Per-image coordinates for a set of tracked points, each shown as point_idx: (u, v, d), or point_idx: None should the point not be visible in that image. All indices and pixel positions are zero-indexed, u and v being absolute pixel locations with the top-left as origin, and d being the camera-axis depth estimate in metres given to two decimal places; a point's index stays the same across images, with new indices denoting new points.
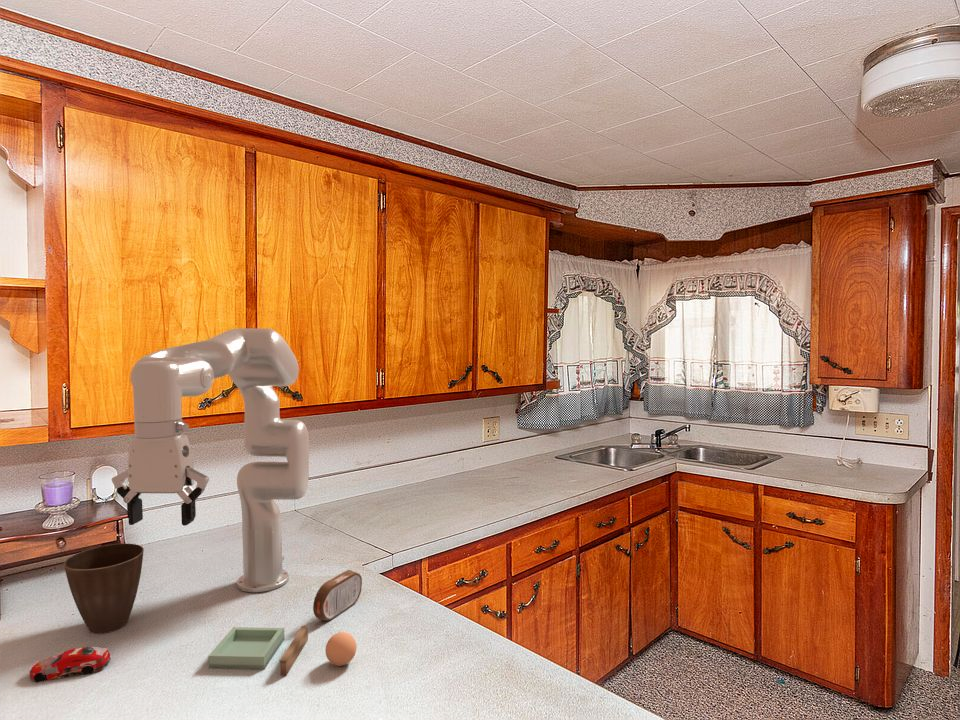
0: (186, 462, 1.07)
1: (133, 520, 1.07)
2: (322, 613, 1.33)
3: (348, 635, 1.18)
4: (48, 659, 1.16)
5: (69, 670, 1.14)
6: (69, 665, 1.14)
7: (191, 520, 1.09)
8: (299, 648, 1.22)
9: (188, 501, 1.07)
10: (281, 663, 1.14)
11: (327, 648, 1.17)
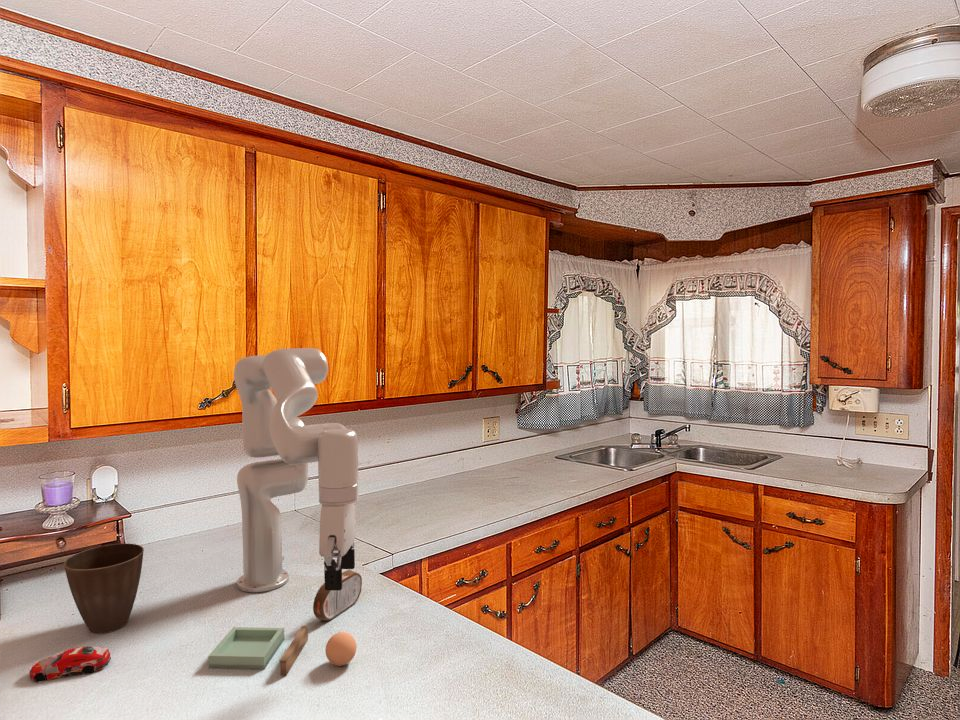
0: None
1: None
2: (321, 613, 1.33)
3: (348, 635, 1.18)
4: (48, 659, 1.16)
5: (69, 670, 1.14)
6: (70, 664, 1.14)
7: None
8: (299, 648, 1.22)
9: (353, 546, 1.23)
10: (281, 663, 1.14)
11: (327, 648, 1.17)
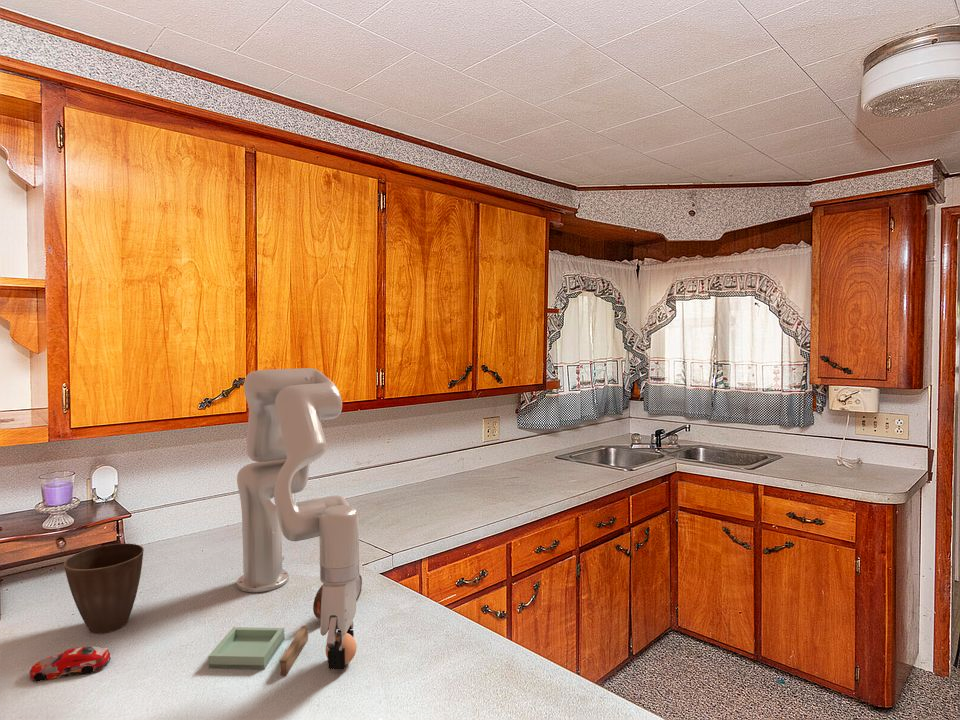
0: None
1: None
2: None
3: (348, 635, 1.18)
4: (48, 659, 1.16)
5: (69, 670, 1.14)
6: (69, 664, 1.14)
7: None
8: (299, 648, 1.22)
9: (352, 626, 1.22)
10: (281, 663, 1.14)
11: (327, 648, 1.17)
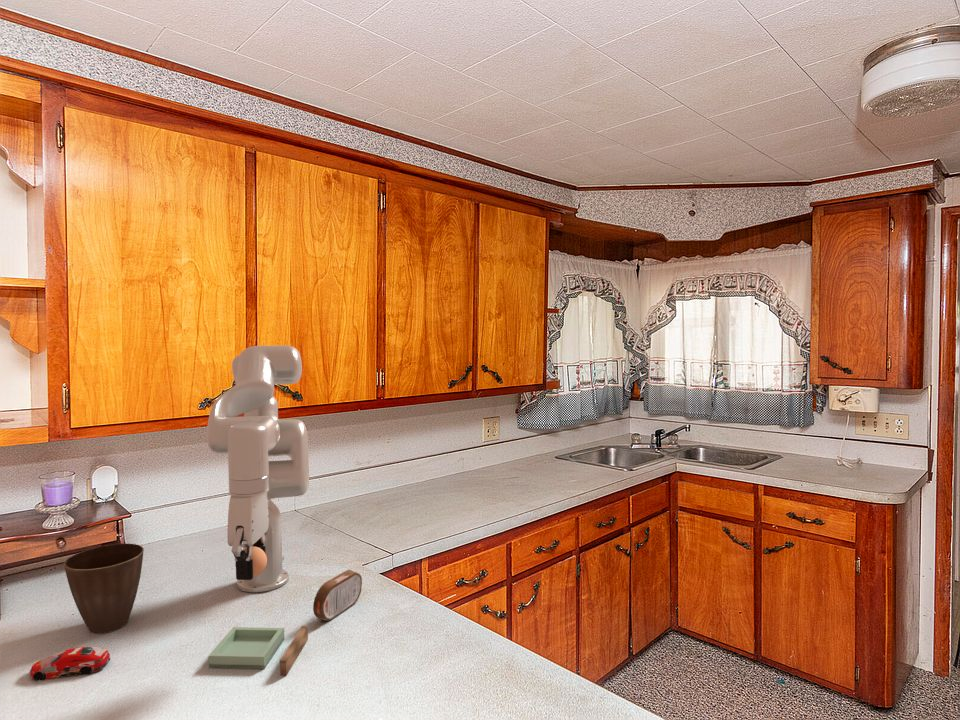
0: None
1: None
2: (322, 613, 1.33)
3: (258, 549, 1.21)
4: (49, 658, 1.16)
5: (68, 670, 1.14)
6: (68, 664, 1.14)
7: None
8: (299, 648, 1.22)
9: (264, 543, 1.25)
10: (281, 663, 1.14)
11: None
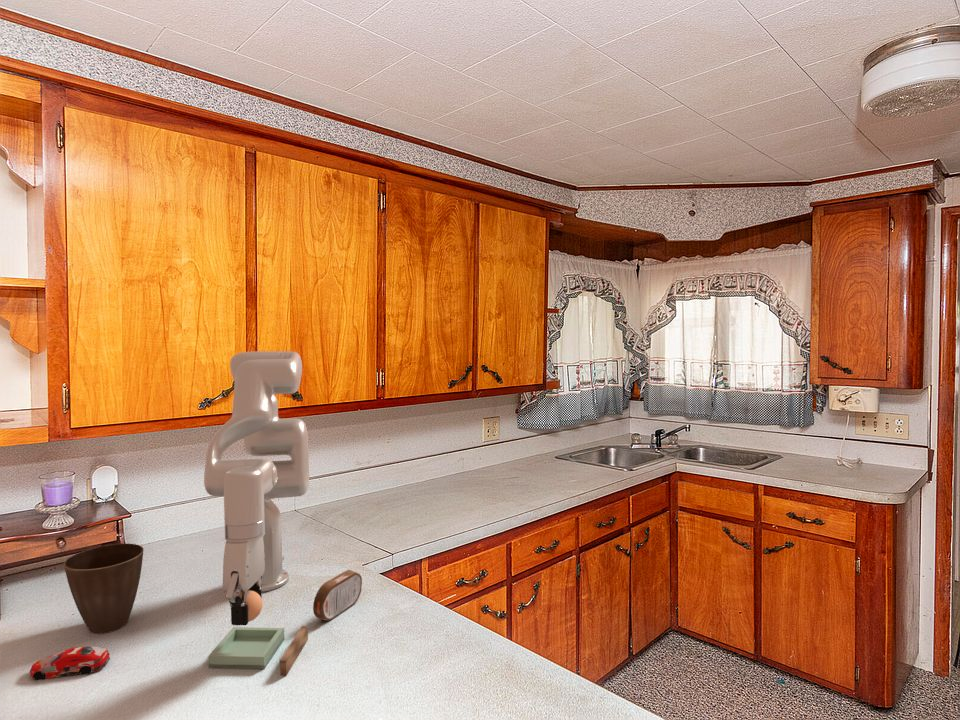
0: None
1: None
2: (321, 613, 1.33)
3: (254, 593, 1.21)
4: (49, 657, 1.16)
5: (67, 669, 1.14)
6: (68, 664, 1.14)
7: None
8: (299, 648, 1.22)
9: (260, 586, 1.25)
10: (281, 663, 1.14)
11: None
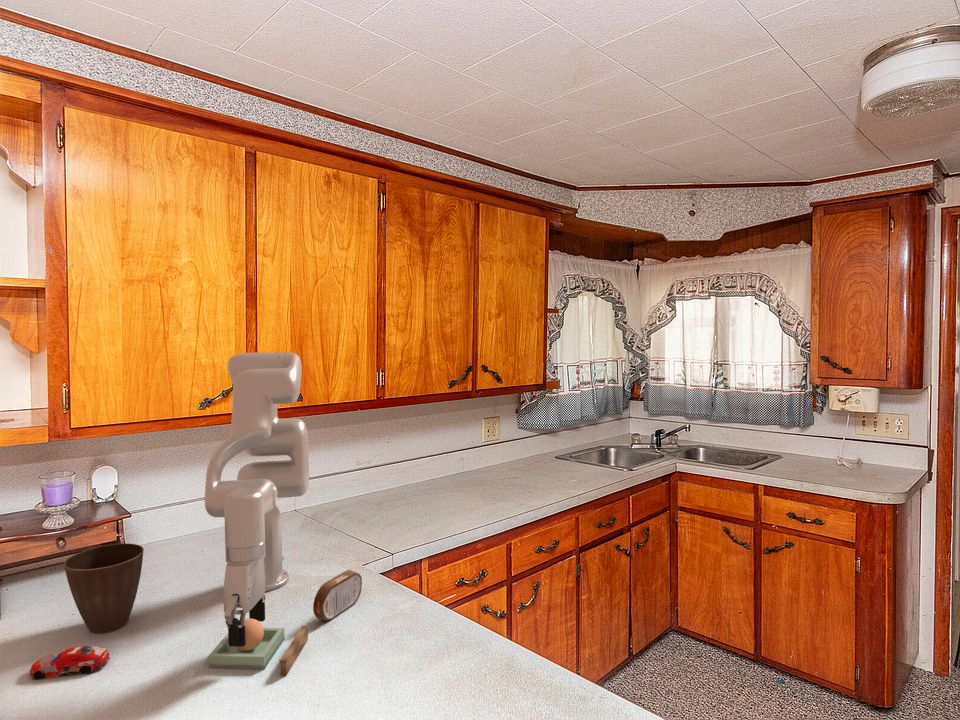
0: None
1: None
2: (321, 613, 1.33)
3: (255, 621, 1.22)
4: (48, 657, 1.16)
5: (67, 669, 1.14)
6: (68, 664, 1.14)
7: (255, 618, 1.27)
8: (299, 648, 1.22)
9: (264, 599, 1.27)
10: (281, 663, 1.14)
11: None
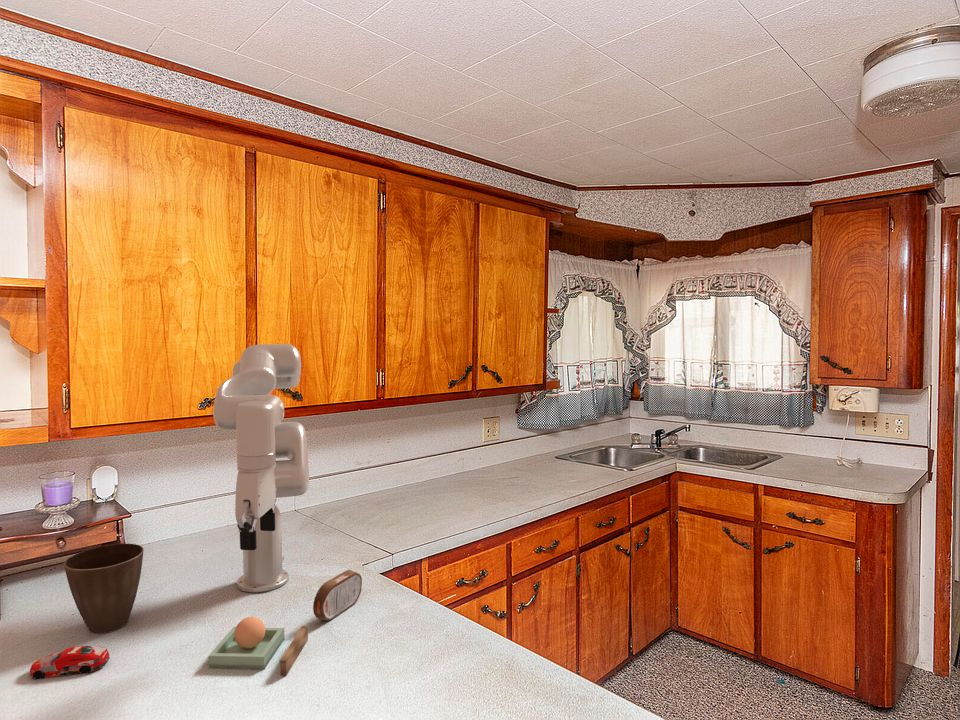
0: None
1: None
2: (321, 613, 1.33)
3: (258, 618, 1.24)
4: (48, 657, 1.17)
5: (67, 669, 1.14)
6: (68, 663, 1.15)
7: None
8: (299, 648, 1.22)
9: (274, 510, 1.31)
10: (281, 663, 1.14)
11: (236, 628, 1.22)
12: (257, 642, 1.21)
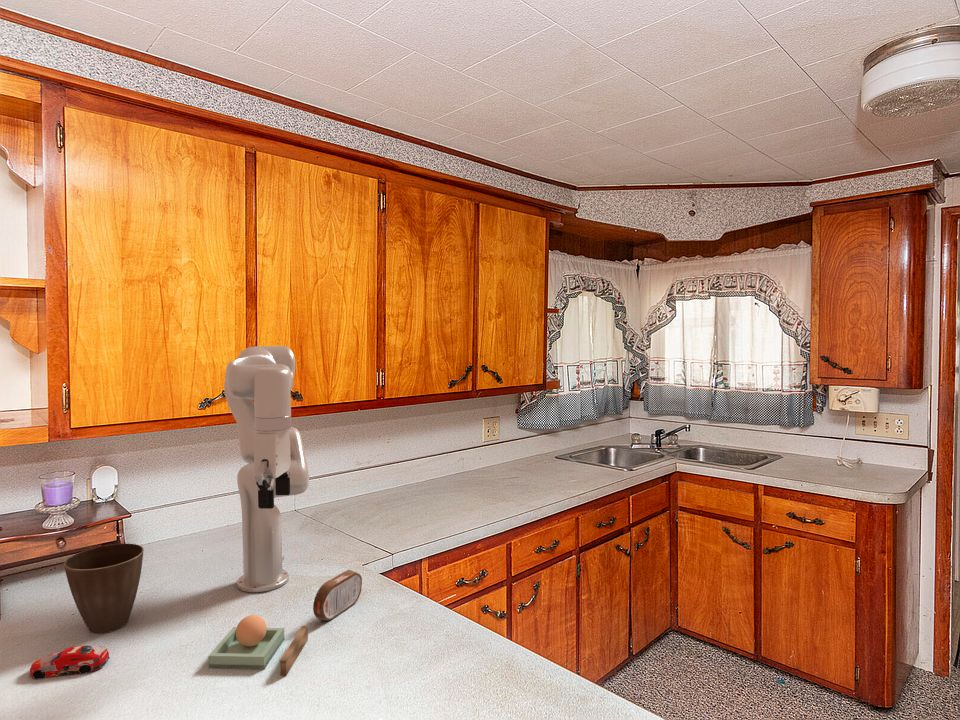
0: None
1: None
2: (322, 613, 1.33)
3: None
4: (48, 656, 1.17)
5: (67, 668, 1.14)
6: (67, 663, 1.15)
7: None
8: (299, 648, 1.22)
9: (289, 475, 1.37)
10: (281, 663, 1.14)
11: (238, 624, 1.23)
12: (258, 639, 1.22)
